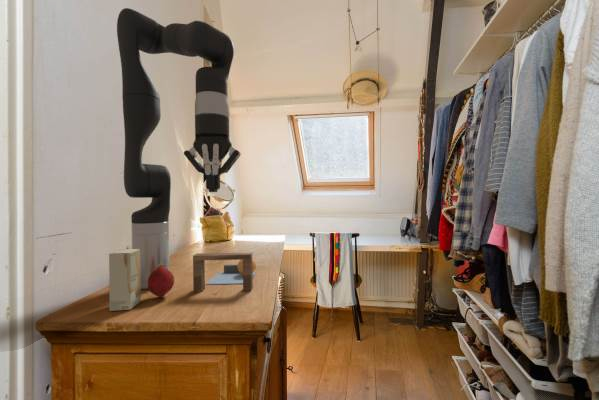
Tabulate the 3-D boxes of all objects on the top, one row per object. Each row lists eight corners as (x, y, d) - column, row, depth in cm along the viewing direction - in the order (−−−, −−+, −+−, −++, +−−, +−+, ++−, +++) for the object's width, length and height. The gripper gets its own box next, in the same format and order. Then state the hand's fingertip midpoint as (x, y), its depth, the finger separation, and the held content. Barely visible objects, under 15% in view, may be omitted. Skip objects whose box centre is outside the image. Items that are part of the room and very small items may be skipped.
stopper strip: (223, 273, 95) (223, 265, 95) (224, 272, 96) (224, 264, 96) (249, 273, 95) (249, 265, 95) (249, 272, 96) (249, 264, 96)
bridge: (251, 290, 76) (250, 254, 76) (193, 292, 76) (192, 255, 76) (252, 287, 79) (252, 252, 79) (197, 288, 79) (196, 253, 79)
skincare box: (130, 310, 64) (129, 252, 64) (108, 312, 63) (107, 253, 63) (142, 300, 70) (141, 248, 70) (121, 301, 69) (120, 248, 69)
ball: (238, 254, 94) (239, 271, 95) (235, 261, 89) (237, 279, 90) (255, 254, 94) (256, 270, 95) (254, 260, 89) (255, 278, 90)
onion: (163, 302, 69) (163, 267, 69) (141, 300, 70) (141, 266, 70) (179, 294, 74) (178, 261, 74) (158, 292, 76) (157, 261, 75)
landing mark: (250, 283, 82) (249, 283, 82) (206, 284, 82) (206, 283, 82) (255, 273, 94) (255, 272, 94) (217, 273, 94) (217, 273, 94)
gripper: (176, 111, 65) (177, 192, 65) (238, 111, 65) (239, 191, 65) (188, 120, 72) (189, 192, 72) (243, 120, 73) (244, 192, 73)
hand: (213, 191), depth 69 cm, fingers closed
